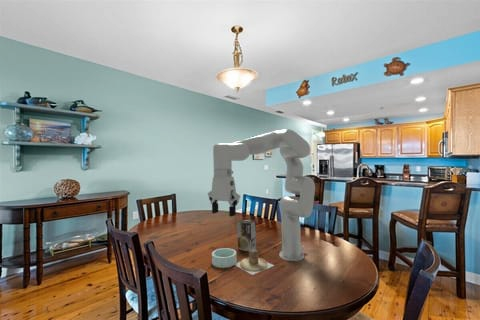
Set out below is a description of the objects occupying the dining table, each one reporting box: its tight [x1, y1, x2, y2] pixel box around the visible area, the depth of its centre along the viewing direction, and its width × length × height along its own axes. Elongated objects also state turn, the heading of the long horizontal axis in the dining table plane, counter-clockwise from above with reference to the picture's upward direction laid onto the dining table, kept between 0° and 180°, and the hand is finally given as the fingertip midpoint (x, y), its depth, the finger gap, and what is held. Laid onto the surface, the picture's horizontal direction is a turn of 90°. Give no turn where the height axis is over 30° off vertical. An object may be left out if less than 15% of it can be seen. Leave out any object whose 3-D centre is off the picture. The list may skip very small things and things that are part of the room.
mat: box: [234, 261, 275, 276], centre depth 115 cm, size 14×14×1 cm
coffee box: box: [236, 219, 257, 252], centre depth 136 cm, size 9×6×16 cm
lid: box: [239, 248, 268, 271], centre depth 115 cm, size 13×13×7 cm
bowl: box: [211, 247, 238, 269], centre depth 119 cm, size 12×12×5 cm
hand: (223, 214), depth 100 cm, fingers open, 9 cm apart
